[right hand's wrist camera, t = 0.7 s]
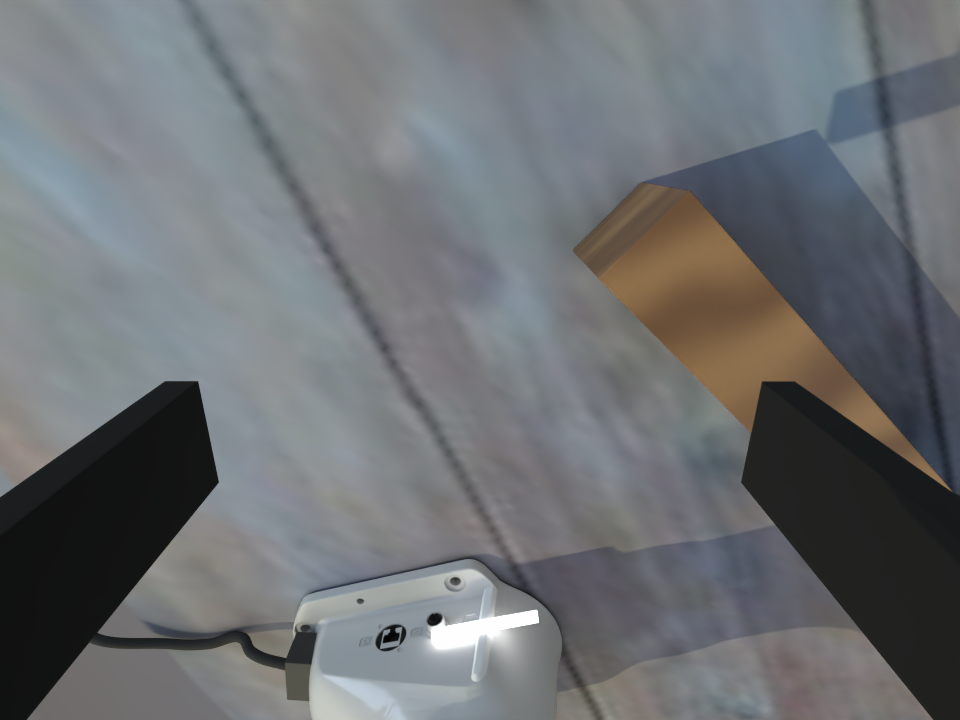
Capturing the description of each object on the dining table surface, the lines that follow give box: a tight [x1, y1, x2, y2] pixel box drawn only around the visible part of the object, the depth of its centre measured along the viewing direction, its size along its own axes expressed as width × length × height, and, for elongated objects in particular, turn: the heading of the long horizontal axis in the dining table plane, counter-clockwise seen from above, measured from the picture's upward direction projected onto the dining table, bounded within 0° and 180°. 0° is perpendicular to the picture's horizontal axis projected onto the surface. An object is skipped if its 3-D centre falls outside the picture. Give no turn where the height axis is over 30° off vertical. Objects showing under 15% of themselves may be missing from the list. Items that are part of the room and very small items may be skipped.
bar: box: [573, 182, 953, 492], centre depth 35 cm, size 54×6×8 cm, turn 47°
